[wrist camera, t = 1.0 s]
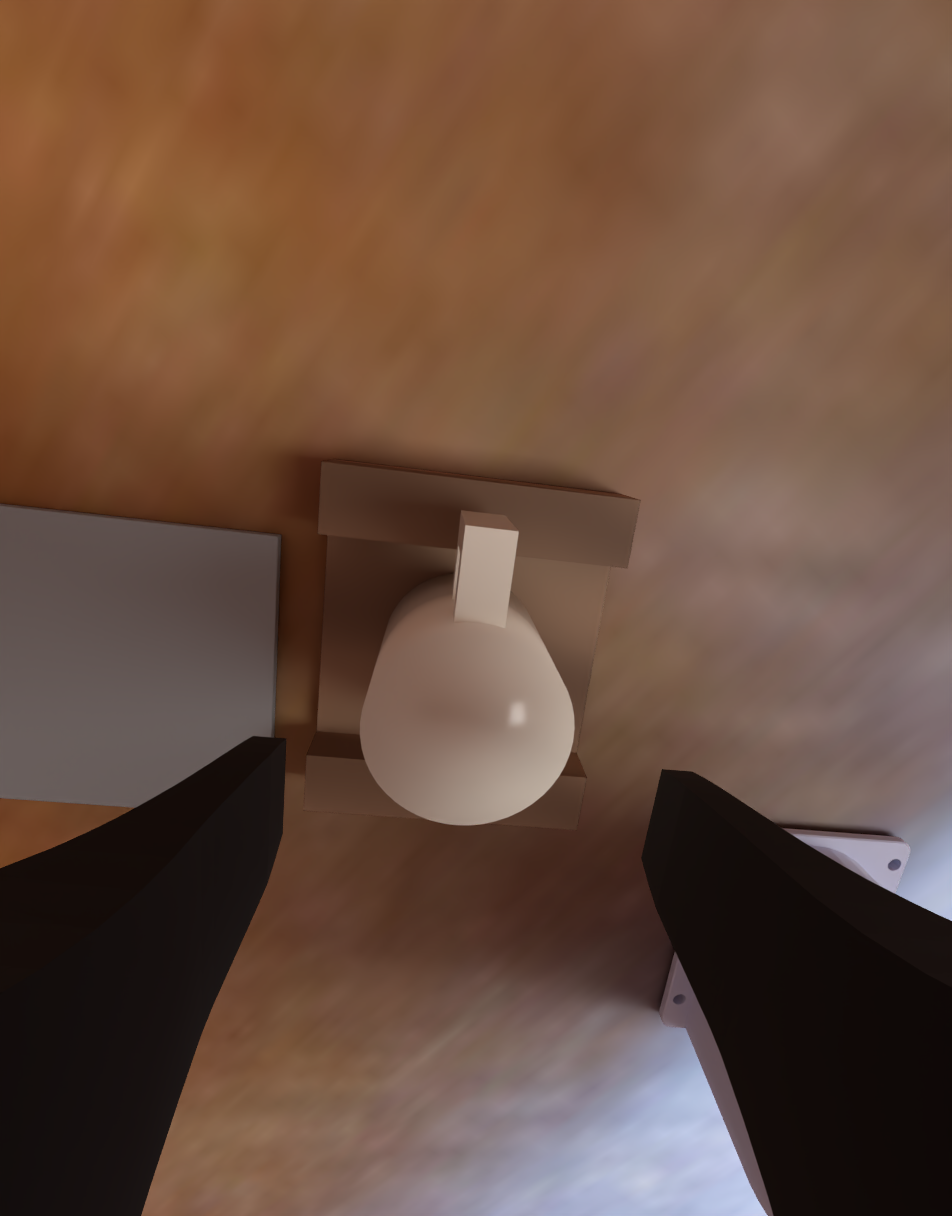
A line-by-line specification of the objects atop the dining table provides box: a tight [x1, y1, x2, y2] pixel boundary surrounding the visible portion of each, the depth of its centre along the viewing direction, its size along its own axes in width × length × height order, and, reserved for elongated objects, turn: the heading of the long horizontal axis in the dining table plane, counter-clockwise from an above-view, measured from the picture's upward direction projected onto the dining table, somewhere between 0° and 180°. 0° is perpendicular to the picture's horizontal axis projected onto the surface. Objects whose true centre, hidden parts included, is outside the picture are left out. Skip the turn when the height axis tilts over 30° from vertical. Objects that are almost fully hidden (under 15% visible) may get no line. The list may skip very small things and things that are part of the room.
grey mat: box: [0, 504, 281, 808], centre depth 19 cm, size 10×10×1 cm
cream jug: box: [360, 510, 575, 825], centre depth 17 cm, size 7×5×6 cm
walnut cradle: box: [304, 459, 641, 830], centre depth 19 cm, size 11×9×2 cm
